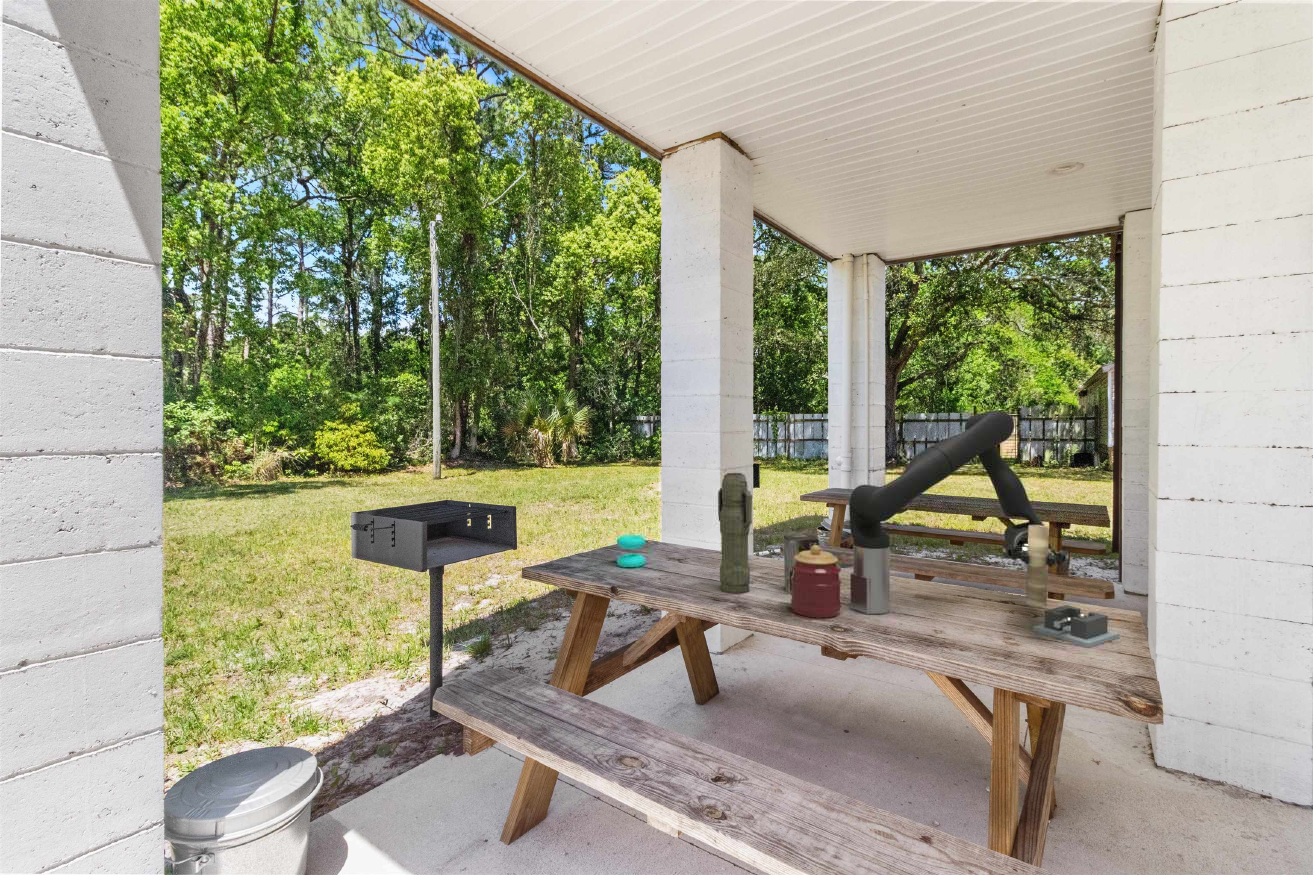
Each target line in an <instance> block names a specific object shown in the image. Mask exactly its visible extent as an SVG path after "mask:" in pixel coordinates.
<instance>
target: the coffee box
mask: <svg viewBox="0 0 1313 875" xmlns="http://www.w3.org/2000/svg"><path fill="white" fill-rule="evenodd" d="M783 536H784V537H783V543H784V544H783V546H784V548H783V550H784V552H783V553H784V557H783V558H784V560H783V562H784V566H783V567H784V589H785V590H786V591H787V592H788V593H789V594H790V593H792V580H791V577H792V576H793V569H792V568H791V565H792V564H793V563H794V562H795V561H796V560H795V559H794V556H796V555H797V554H799V553H800V552H802V551H808V550H811V547H812V546H813V545H818V546H819V547H820V539H819V538H818V537H817V536H815V535H814V534H796V535H794V534H793V535H783Z"/></svg>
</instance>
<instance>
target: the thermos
mask: <svg viewBox="0 0 1313 875" xmlns="http://www.w3.org/2000/svg"><path fill="white" fill-rule="evenodd" d="M717 505H718V506H717V509H718V510H717V513H718V521H719V532H720V535H721V563H720V566H719V581H720V582H719V583H720V588H719V589H720V591H721V592H723V593H725V594H730V595H744V594H746V593H749V592H750V583H751V568H750V565H749V534H750V526H751V524H752V522H753V521H752V516H753V515H752V510H753V507H752V506H753V495H752V492H751V490H748V481H747V478H746V475H745V474H743V472H728V473H726V474H724V476H723V479H722V482H721V487H720V488H719V490H718V492H717Z"/></svg>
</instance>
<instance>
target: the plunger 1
mask: <svg viewBox="0 0 1313 875" xmlns="http://www.w3.org/2000/svg"><path fill="white" fill-rule="evenodd" d="M1066 626H1071V618H1070V617H1066V618H1065V619H1062V620H1058V621H1054V627H1057V628H1062V627H1066Z"/></svg>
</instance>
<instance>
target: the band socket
mask: <svg viewBox="0 0 1313 875" xmlns="http://www.w3.org/2000/svg"><path fill="white" fill-rule="evenodd" d="M1089 612H1090V611H1089ZM1095 612H1096V611H1092V612H1090V613H1088V617H1087V618H1083V619H1081V618H1078V617H1077V616H1078V614H1080V613H1081V608H1079V607H1075V606H1072V605H1071V606H1070V605H1067V604H1064V605H1062V606H1061V605H1060V606H1058V607H1054V608H1050V609H1047V610H1044V623H1041V624H1037V625H1034V626H1032V631H1033V632H1035V633H1038V634H1043V635H1045V636H1049V637H1051V638H1055V639H1057V640H1058V639H1059V640H1062V641H1065V642H1068V643H1071V644H1074V645H1078V646H1080V647H1083V648H1087V649H1089V648H1093V647H1095V646H1099V645H1101V644H1104V643H1107V642H1110V641H1113V640H1116V639H1119V638H1120V633H1119V632H1116V631H1112V630H1110V629H1109V630H1108V626H1109V625H1108V624H1109V622H1108V621H1109V619H1108V618H1109V616H1108V615H1106V614H1101V613H1098V612H1096V613H1095ZM1066 617H1070V618H1071V626H1066V627H1062V628H1057V627H1054V621H1058V620H1062V619H1065V618H1066Z"/></svg>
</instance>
